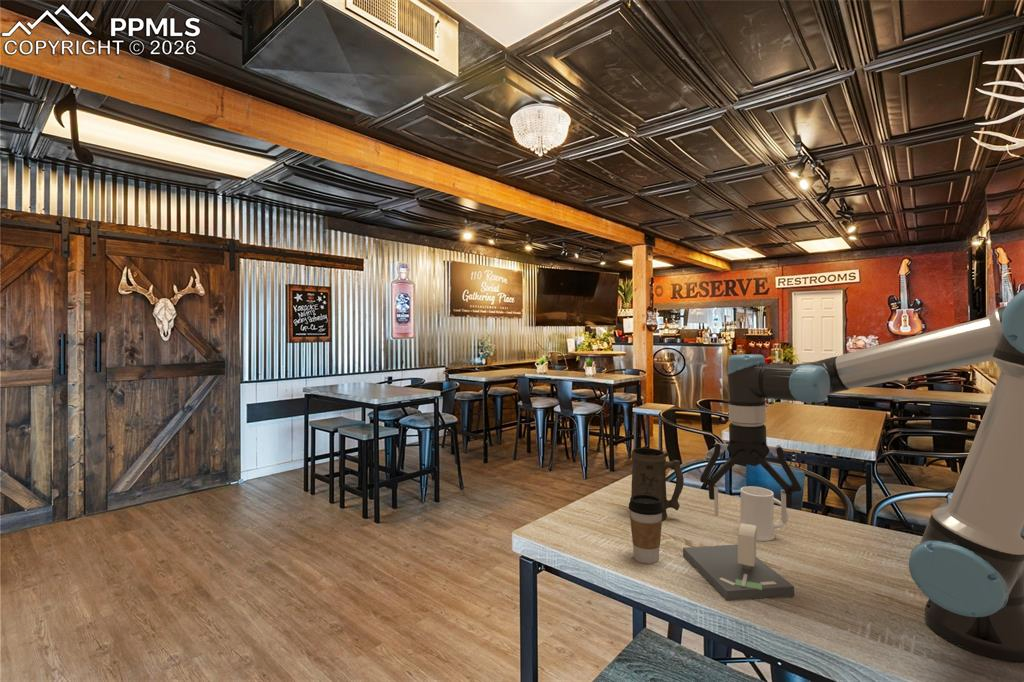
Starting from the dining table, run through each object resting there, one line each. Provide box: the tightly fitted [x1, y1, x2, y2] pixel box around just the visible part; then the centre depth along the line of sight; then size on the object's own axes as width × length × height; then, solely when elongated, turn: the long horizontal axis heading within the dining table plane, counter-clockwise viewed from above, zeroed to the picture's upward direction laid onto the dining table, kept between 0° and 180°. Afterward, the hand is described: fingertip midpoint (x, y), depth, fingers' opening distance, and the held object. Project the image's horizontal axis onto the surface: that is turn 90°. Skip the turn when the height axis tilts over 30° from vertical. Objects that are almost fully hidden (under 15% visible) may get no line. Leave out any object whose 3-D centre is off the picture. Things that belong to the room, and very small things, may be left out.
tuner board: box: [682, 543, 795, 601], centre depth 111 cm, size 20×15×2 cm
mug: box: [740, 486, 790, 542], centre depth 131 cm, size 12×8×12 cm
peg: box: [737, 522, 757, 587], centre depth 107 cm, size 3×12×9 cm, turn 149°
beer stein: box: [629, 447, 685, 522], centre depth 145 cm, size 15×11×20 cm
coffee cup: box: [628, 494, 664, 565], centre depth 119 cm, size 8×8×15 cm
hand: (749, 517), depth 109 cm, fingers open, 13 cm apart
